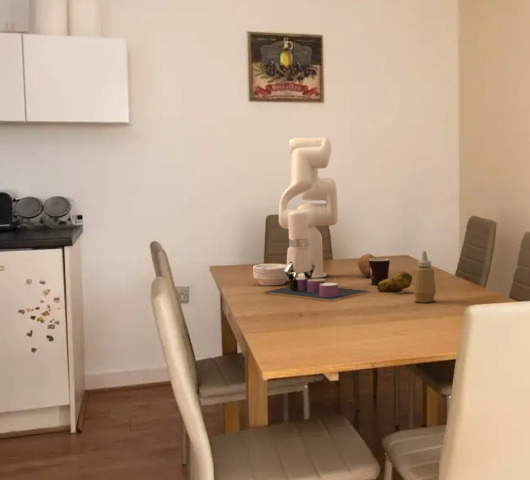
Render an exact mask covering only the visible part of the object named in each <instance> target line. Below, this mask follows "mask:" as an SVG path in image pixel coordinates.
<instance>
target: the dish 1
mask: <svg viewBox="0 0 530 480" xmlns="http://www.w3.org/2000/svg"><path fill="white" fill-rule="evenodd" d="M308 279H310V278H308V277H298V276H297V278H296V280H297V288H298V290H296V291H307V285H306V280H308ZM293 291H295V290H293Z"/></svg>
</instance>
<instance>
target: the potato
mask: <svg viewBox="0 0 530 480" xmlns="http://www.w3.org/2000/svg"><path fill="white" fill-rule="evenodd" d="M412 282H413V276H412V275H411V273H410V272H407V271H400V272H396V273H394V274H393V275H391V276H390V277H388V279H385V280H383V281H381V282H379V283H378V285H377V290H378V291H379V292H381V293H392V292H393V293H394V292H400V291H402V290H405V289H407V288H410V287H411V284H412Z"/></svg>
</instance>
